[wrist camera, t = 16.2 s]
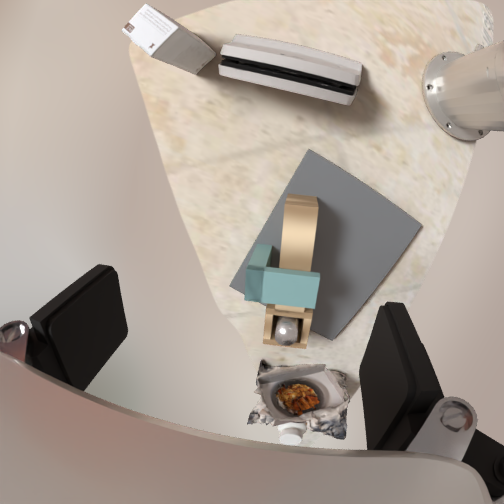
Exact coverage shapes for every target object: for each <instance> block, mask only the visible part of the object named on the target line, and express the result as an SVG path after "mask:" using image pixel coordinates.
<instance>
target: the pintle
mask: <svg viewBox="0 0 504 504" xmlns="http://www.w3.org/2000/svg"><path fill="white" fill-rule="evenodd" d="M298 321H299V318H295V317H286V316H278V321H277V326H276V332H275V340H276V342H277V343H279V344H280V345H283V346H290V345H293V344H294V343H295V342H296V341H297V334H298Z"/></svg>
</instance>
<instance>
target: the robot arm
mask: <svg viewBox="0 0 504 504" xmlns="http://www.w3.org/2000/svg"><path fill="white" fill-rule="evenodd" d="M442 58H443V59H442ZM427 86H428V87H429V90H428V88H427ZM422 89H423V96H424V100H425V103H426V105H427V108H428V110H429V112H430V114H431V115H432V117H433V119H434V120H435V121H436V122H437V124H438V125H439V126H440V127H441V128H442V129H443V130H444V131H445V132H447V133H448V134H450V135H451V136H453V137H456V138H458V139H462V140H471V141H472V140H478V139H481V138H483V137H484V136H485V135H487V134H488V133H489V132H490V131H491V130H493V131H504V41H501V42H498V43H495V44H493V45H490V46H488V47H485V48H484V47H483V46H482V45H480V44H477V46H476V48H475V52H472V53H470V54H467V55H464V54H461V53H458V52H443V53H441V54H439V55H437V56H435V57H434V58H432V59H431V60H430V61H429V62H428V64H427V66H426V68H425V70H424V73H423V78H422ZM446 124H447V126H446ZM478 131H479V133H478ZM30 321H31V324H32V326H33V327H32V328H31V329H29V326H28V325H27V323H25V322H24V321H20V320H17V321H11V322H9V323H6V324H4V325H3V326H2V327H0V504H504V446H503V445H502V444H500V443H498V442H497V441H495V440H493V439H492V438H490V437H488V436H487V435H485V434H483V433H482V432H480V431H479V430H477V429H476V426H477V414H476V412H475V410H474V408H473V407H472V406H471V405H470V404H469V403H468V402H466V401H465V400H463V399H461V398H458V397H445V398H444V395H443V392H442V390H441V387H440V384H439V382H438V379H437V376H436V374H435V371H434V369H433V366H432V364H431V362H430V359H429V356H428V354H427V352H426V349H425V347H424V345H423V344H422V343H421V341H420V338H419V336H418V334H417V332H416V329H415V327H414V325H413V323H412V320H411V318H410V316H409V314H408V312H407V310H406V308H405V305H404V304H403V303H398V302H386V304H385V306H382V305H381V306H380V307H379V310H378V314H377V317H376V320H375V323H374V327H373V330H372V333H371V336H370V339H369V342H368V345H367V348H366V351H365V354H364V356H363V359H362V362H361V365H360V369H359V377H360V385H361V392H362V400H363V409H364V418H365V428H366V439H367V450H342V449H324V448H312V447H300V446H290V445H281V444H273V443H266V442H259V441H253V440H246V439H241V438H235V437H230V436H225V435H220V434H215V433H211V432H206V431H202V430H198V429H193V428H190V427H186V426H182V425H178V424H175V423H171V422H168V421H164V420H161V419H158V418H154V417H151V416H148V415H145V414H142V413H139V412H136V411H133V410H130V409H127V408H124V407H121V406H119V405H116V404H114V403H111V402H108V401H106V400H103V399H101V398H98V397H96V396H93V395H91V394H88V393H86V392H84V390H85V389H86V388H87V386H88V385H89V384H90V382H91V381H92V380H93V379H94V377H95V376H96V375H97V373H98V372H99V371H100V370H101V368H102V367H103V366H104V365H105V363H106V362H107V361H108V359H109V358H110V357H111V356H112V354H113V353H114V352H115V351H116V349H117V348H118V347H119V346H120V344H121V343H122V342H123V340H125V338H126V337H127V334H128V327H127V322H126V318H125V313H124V308H123V302H122V297H121V292H120V286H119V279H118V274H117V272H116V271H115V270H114V268H113V267H112V266H107V265H101V264H99V265H97V266H95V267H94V268H93V269H91V270H90V271H88V272H87V273H86V274H84V275H83V276H82V277H80V278H79V279H78V280H76V281H75V282H74V283H72V284H71V285H70V286H68V287H67V288H66V289H65V290H63V291H62V292H61V293H59V294H58V295H57V296H56V297H54V298H53V299H52V300H51V301H49V302H48V303H47V304H46V305H44V306H43V307H42V308H41V309H39V310H38V311H37V312H36V313H35V314H33V315H32V316H31V317H30Z"/></svg>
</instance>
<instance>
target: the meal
mask: <svg viewBox="0 0 504 504" xmlns="http://www.w3.org/2000/svg"><path fill="white" fill-rule="evenodd" d="M263 365H264V366H262V360H261V362H260V366H259V371H258V376H257V379H256V385H257V386H258V389H256V390H255V391H254V393H257V394H260V395H261V398H260V400H259V401H258V404H257V405H256V406H255V407H254V409H253V410H252V412H251V413H250V415H249V419H248V423H247V424H252V423H260V424H261V423H266V425H267V424H269V423H270V424H271V425H272V426H276V425H281V424H286V423H290V422H292V423H307V426H306V427H307V428H308V429H310V430H311V431H313V432H314V431H316V432H323V433H324V435H331V436H332V437H334V438H336V439H345V438H346V429H347V424H346V415H347V407H348V403H349V402H350V396H349V395H348V392H347V389H346V387H347V386H346V384H345V379H346V375H345V374H343V373H340V372H336V371H330V370H327V369H326V367H325V364H303V365H296V366H291V367H282V366H274V367H269V366H267V365H266V364H263ZM324 367H325V369H324ZM338 383H339V384H341V385H344V387H342V388H341V386H340V385H339V384H338ZM344 392H345V393H346V395H347V397H348V399H347V400H345V399H344V398H343V397H344Z"/></svg>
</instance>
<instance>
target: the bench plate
mask: <svg viewBox="0 0 504 504" xmlns="http://www.w3.org/2000/svg"><path fill="white" fill-rule="evenodd" d="M288 193H289V194H299V195H308V196H317V202H318V207H319V208H318V217H317V225H316V233H315V241H314V249H313V256H312V263H311V270H310V272H316V273H320V281H319V287H318V293H317V299H316V304H315V309H313V315H312V321H311V326H310V330H312V331H314V332H316V333H318V334H320V335H322V336H324V337H326V338H328V339H330V340H333V339H334V338H335V337H336V336H337V335H338V333H339V332H340V331H341V330H342V329H343V328H344V327H345V325H346V324H347V323H348V322H349V321H350V320H351V318H352V317H353V316H354V315H355V314H356V312H357V311H358V310H359V309H360V308H361V306H362V305H363V304H364V303H365V301H366V300H367V299H368V298H369V296H370V295H371V294H372V293H373V291H374V290H375V289H376V288H377V286H378V285H379V284H380V282H381V281H382V280H383V279H384V277H385V276H386V275H387V273H388V272H389V271H390V269H391V268H392V267H393V265H394V264H395V263H396V261H397V260H398V258H399V257H400V256H401V254H402V253H403V251H404V250H405V249H406V247H407V246H408V244H409V243H410V241H411V240H412V239H413V237H414V236H415V234H416V233H417V231H418V230H419V228H420V227H421V224H420V223H419V222H418V221H416V220H415V219H414V218H412V217H411V216H410V215H408V214H407V213H406V212H404V211H403V210H402V209H400V208H399V207H398V206H396V205H395V204H393V203H392V202H391V201H389V200H388V199H386V198H385V197H383V196H382V195H381V194H379V193H378V192H376V191H375V190H373V189H372V188H370V187H369V186H367V185H366V184H364V183H363V182H361V181H360V180H358V179H357V178H355V177H354V176H352V175H351V174H349V173H347V172H346V171H344V170H343V169H341V168H340V167H338V166H336V165H335V164H333V163H331V162H330V161H328V160H327V159H325V158H323V157H322V156H320V155H318V154H316V153H315V152H313V151H311V150H310V149H308V151H307V152H306V154H305V156H304V158H303V159H302V161H301V163H300V164H299V166H298V168H297V170H296V171H295V173H294V175H293V176H292V178H291V180H290V182H289V183H288V185H287V187H286V189H285V190H284V192H283V194H282V195H281V197H280V199H279V201H278V202H277V204H276V206H275V208H274V209H273V211H272V213H271V214H270V216H269V218H268V220H267V221H266V223H265V225H264V227H263V228H262V230H261V232H260V233H259V235H258V237H257V239H256V240H255V242H254V244H253V246H252V247H251V249H250V251H249V252H248V254H247V256H246V258H245V259H244V261H243V263H242V265H241V266H240V268H239V270H238V272H237V273H236V275H235V277H234V278H233V280H232V282H231V284H230V287H232V288H234V289H235V290H237V291H239V292H241V293H243V294H244V295H245V278H246V268H247V266H248V263H249V261H250V259H251V257H252V254H253V252H254V250H255V248H256V245H257V244H265V245H272V254H271V267H272V268H279V264H280V253H281V242H282V231H283V219H284V207H285V202H286V198H287V195H288ZM259 303H261V302H259ZM261 304H263V305H265V306H267V303H261Z"/></svg>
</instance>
